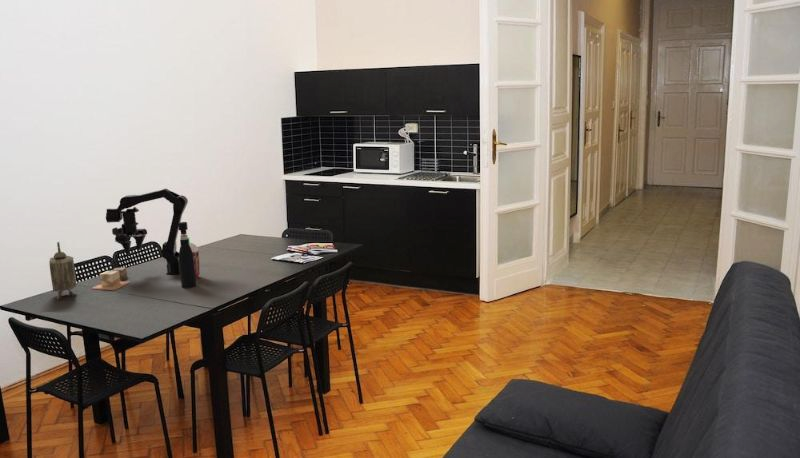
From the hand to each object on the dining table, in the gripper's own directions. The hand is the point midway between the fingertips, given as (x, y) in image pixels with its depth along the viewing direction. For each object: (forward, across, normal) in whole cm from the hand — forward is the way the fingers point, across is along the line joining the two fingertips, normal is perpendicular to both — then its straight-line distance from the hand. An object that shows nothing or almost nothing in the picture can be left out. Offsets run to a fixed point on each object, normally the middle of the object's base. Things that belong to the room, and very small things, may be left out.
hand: (133, 252), depth 343 cm
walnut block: (+12, +6, -5) cm, 14 cm away
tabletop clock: (+12, +36, -12) cm, 40 cm away
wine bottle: (+12, +16, +38) cm, 43 cm away
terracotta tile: (+12, +19, -1) cm, 22 cm away
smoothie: (+12, +2, +32) cm, 34 cm away
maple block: (+11, +19, -1) cm, 22 cm away
